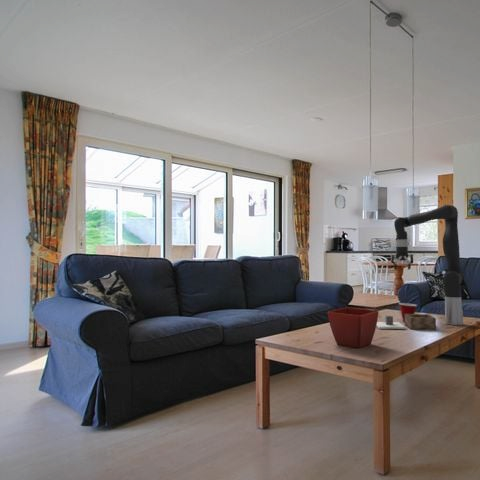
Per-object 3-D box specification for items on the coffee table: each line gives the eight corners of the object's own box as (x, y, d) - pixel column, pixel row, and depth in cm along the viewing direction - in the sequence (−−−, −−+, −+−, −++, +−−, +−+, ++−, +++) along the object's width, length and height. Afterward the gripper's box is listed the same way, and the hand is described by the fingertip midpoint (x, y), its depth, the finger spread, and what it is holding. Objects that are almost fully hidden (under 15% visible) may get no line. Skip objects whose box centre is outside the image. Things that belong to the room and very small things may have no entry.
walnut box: (428, 325, 258) (428, 314, 258) (436, 330, 244) (435, 318, 244) (404, 325, 260) (404, 313, 260) (411, 329, 246) (411, 317, 246)
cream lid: (398, 325, 261) (398, 314, 261) (405, 330, 246) (405, 318, 246) (374, 325, 263) (374, 314, 263) (379, 329, 248) (378, 318, 248)
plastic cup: (420, 323, 265) (419, 304, 265) (403, 323, 265) (402, 304, 265) (413, 320, 275) (413, 302, 276) (396, 320, 276) (396, 302, 276)
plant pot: (326, 344, 211) (326, 311, 211) (346, 338, 225) (346, 307, 225) (360, 351, 198) (360, 315, 198) (380, 344, 211) (379, 310, 211)
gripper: (411, 246, 290) (411, 269, 290) (390, 246, 292) (390, 269, 292) (414, 246, 283) (414, 269, 283) (392, 246, 285) (392, 269, 284)
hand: (402, 269), depth 287 cm, fingers open, 8 cm apart
